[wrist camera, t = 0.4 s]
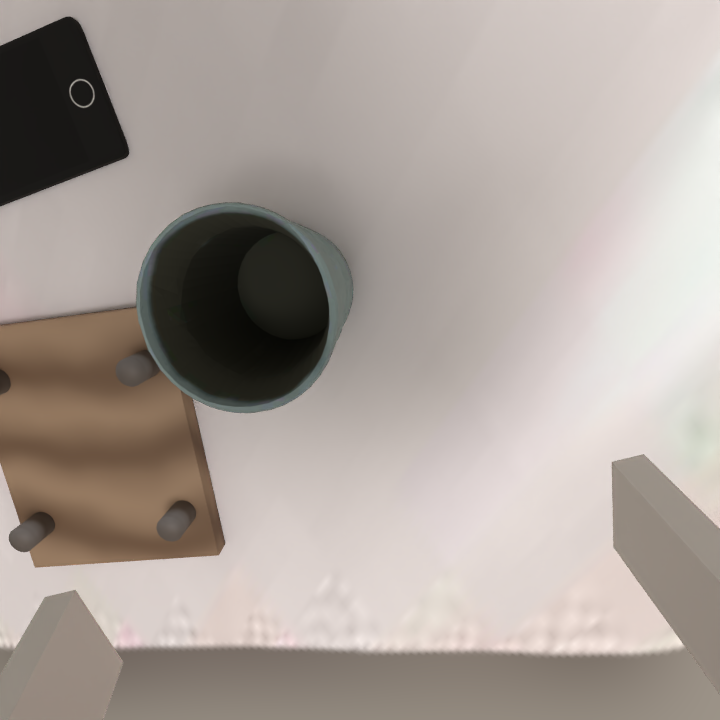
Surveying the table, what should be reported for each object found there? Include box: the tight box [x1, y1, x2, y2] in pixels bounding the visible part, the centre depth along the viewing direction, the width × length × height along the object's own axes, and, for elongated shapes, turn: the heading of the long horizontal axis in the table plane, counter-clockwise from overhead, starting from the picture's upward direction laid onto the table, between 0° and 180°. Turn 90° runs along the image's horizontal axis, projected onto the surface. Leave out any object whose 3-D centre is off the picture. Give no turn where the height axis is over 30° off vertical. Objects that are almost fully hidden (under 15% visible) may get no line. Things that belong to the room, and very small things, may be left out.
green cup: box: [136, 203, 353, 413], centre depth 30 cm, size 10×10×12 cm
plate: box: [0, 307, 225, 567], centre depth 38 cm, size 20×16×4 cm
